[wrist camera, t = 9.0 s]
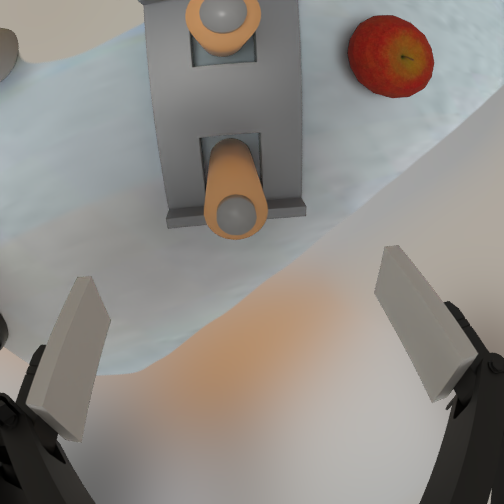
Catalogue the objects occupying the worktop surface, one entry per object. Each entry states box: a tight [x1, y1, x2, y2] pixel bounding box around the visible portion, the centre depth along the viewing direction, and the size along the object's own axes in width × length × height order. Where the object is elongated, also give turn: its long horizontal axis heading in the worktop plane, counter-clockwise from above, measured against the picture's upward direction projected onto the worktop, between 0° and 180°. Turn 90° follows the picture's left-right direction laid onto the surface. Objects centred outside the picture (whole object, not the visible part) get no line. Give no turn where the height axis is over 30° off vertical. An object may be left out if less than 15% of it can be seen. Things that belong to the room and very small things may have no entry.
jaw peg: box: [204, 138, 268, 240], centre depth 24 cm, size 4×4×13 cm
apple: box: [348, 15, 434, 98], centre depth 21 cm, size 8×8×8 cm
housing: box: [138, 0, 306, 229], centre depth 21 cm, size 13×22×13 cm, turn 3°
